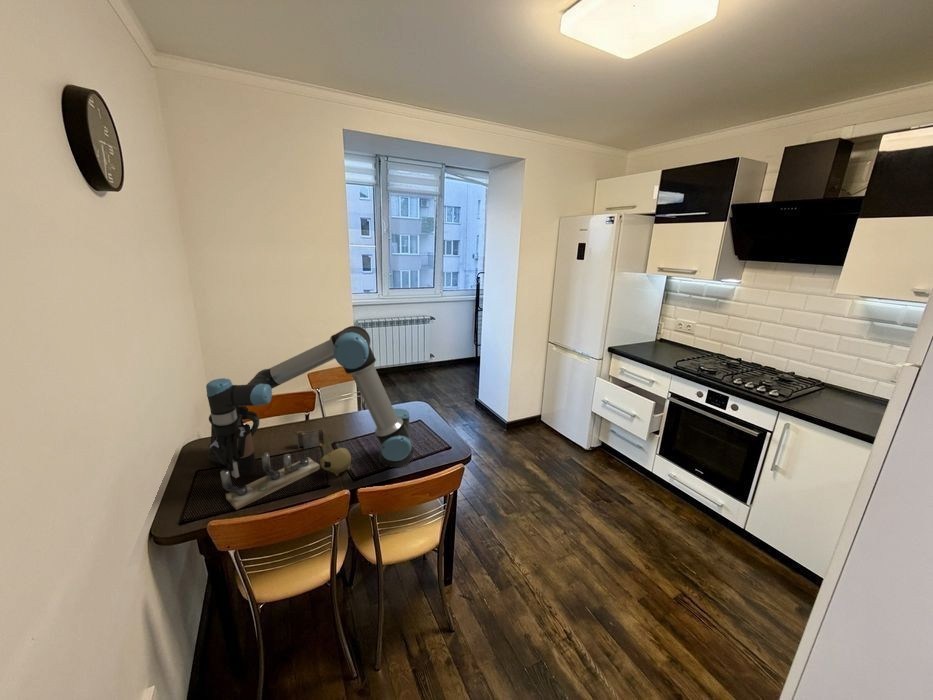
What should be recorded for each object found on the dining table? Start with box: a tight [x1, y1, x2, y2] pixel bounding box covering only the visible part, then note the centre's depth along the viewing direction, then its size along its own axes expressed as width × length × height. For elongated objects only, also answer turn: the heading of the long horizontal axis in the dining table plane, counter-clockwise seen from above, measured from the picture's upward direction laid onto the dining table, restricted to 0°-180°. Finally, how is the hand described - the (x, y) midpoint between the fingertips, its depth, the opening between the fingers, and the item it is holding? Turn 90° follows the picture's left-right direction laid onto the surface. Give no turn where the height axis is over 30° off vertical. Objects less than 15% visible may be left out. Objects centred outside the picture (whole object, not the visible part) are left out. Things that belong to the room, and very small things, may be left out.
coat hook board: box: [225, 456, 321, 511], centre depth 143 cm, size 9×32×3 cm, turn 142°
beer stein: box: [207, 406, 260, 469], centre depth 156 cm, size 16×19×25 cm
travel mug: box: [232, 423, 257, 478], centre depth 146 cm, size 8×8×20 cm
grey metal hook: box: [260, 451, 280, 480], centre depth 143 cm, size 10×3×8 cm, turn 52°
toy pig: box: [319, 447, 352, 476], centre depth 150 cm, size 10×12×11 cm
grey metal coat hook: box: [219, 468, 248, 496], centre depth 133 cm, size 10×3×8 cm, turn 73°
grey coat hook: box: [282, 453, 309, 472], centre depth 148 cm, size 10×3×8 cm, turn 145°
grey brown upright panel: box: [296, 428, 326, 450], centre depth 168 cm, size 11×3×10 cm, turn 114°
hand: (235, 476), depth 137 cm, fingers closed
